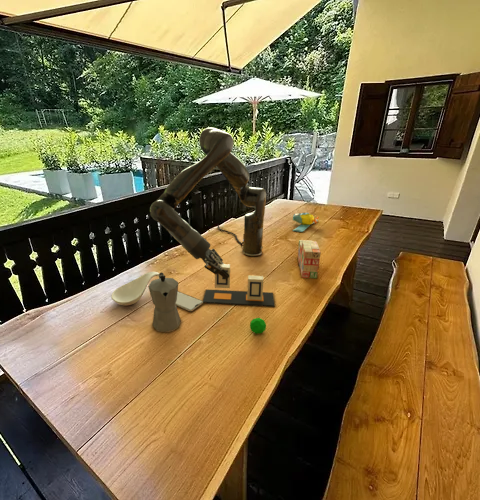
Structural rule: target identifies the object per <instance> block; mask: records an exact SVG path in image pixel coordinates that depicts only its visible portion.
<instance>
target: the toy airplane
mask: <svg viewBox="0 0 480 500" xmlns="http://www.w3.org/2000/svg"><path fill="white" fill-rule="evenodd" d="M292 221H294V222H296V223H298V224H300V225H298V226H297V227H295V228H294V229H292V232H297V233H304V231H306V230H307V228H309V227H310V226H311V225H313V224H315V225H317V223H318V222H319V216H317V217H315V216H314V215H313V214H311V213H310V212H302V213H301V212H300V213H293V215H292Z"/></svg>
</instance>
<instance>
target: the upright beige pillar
mask: <svg viewBox="0 0 480 500" xmlns="http://www.w3.org/2000/svg"><path fill="white" fill-rule="evenodd" d="M246 291H247V299H250V300H262V297H263V292H264V275H249V274H248V275H247V290H246Z"/></svg>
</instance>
